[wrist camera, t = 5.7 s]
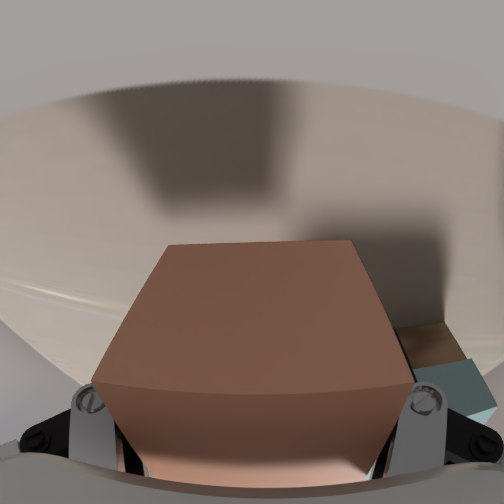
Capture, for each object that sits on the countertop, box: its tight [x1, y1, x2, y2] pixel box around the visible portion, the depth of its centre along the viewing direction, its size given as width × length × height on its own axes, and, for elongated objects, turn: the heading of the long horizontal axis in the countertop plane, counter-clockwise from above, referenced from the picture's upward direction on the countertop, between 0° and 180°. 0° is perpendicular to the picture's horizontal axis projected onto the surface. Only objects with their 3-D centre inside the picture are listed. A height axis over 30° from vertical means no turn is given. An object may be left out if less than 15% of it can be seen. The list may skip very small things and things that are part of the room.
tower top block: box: [364, 358, 498, 481], centre depth 16 cm, size 8×8×4 cm
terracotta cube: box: [91, 240, 415, 488], centre depth 9 cm, size 6×6×6 cm
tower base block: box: [395, 322, 467, 369], centre depth 19 cm, size 8×8×4 cm
